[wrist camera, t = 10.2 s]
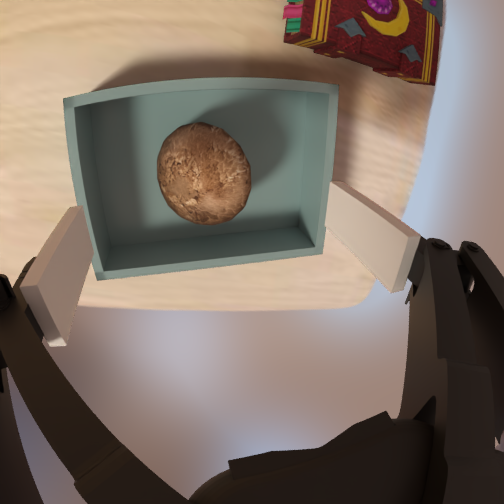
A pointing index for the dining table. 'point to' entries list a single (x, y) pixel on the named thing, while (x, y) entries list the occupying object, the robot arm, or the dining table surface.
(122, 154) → the open rectangular box
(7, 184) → the dining table surface
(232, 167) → the mushroom
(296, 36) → the decorative book
